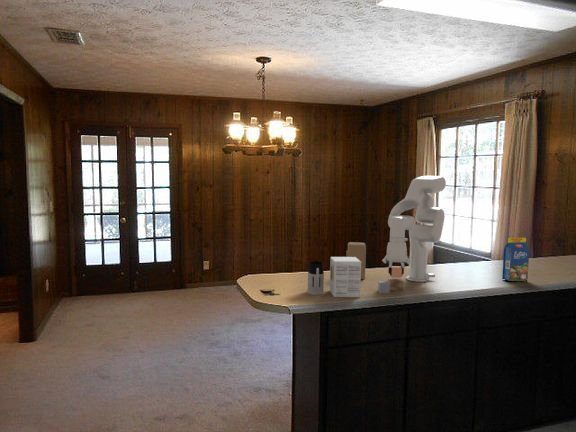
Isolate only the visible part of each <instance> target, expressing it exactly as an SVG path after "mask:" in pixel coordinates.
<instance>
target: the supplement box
mask: <svg viewBox="0 0 576 432" xmlns="http://www.w3.org/2000/svg"><path fill="white" fill-rule="evenodd" d="M329 258H330V261H329V262H330V266H329V274H330V275H329V292H330V293H331V295H332V296H333V297H334V298H361V286H362V285H361V281H362V279H361V261H360V260H359V259H357V258H356V257H347V256H330V257H329Z"/></svg>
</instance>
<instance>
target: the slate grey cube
mask: <svg viewBox="0 0 576 432" xmlns="http://www.w3.org/2000/svg"><path fill="white" fill-rule="evenodd" d="M377 282H378V285H377V287H378V288H377V291H378V293H379V294H390V293H391V292H390V291H391V290H390V283H389V282H388V280H387V281H382V280H378V281H377Z"/></svg>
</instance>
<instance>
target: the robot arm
mask: <svg viewBox="0 0 576 432" xmlns="http://www.w3.org/2000/svg"><path fill="white" fill-rule="evenodd" d="M446 185H447V182H446V179H445V177H444V176H442V175H421V176H417V177H416V178H414V179H412V180H411V182H410V184H409V187H408V189H407V192H406V194H405V197H404V198H403V199H402V200H400V201H399V202H397V203H396V204H395V205H394V206H393V208H391V211H390V214H389V215H388V220H387V224H388V227H389V228H390V230H389V242H387V246H386V255H385V256H384V258H383V259H382V260H381V261H382V262H383V264H385V266H387V268H388V274H389V276H390V275H392V268H391V266H393V263H400V264H401V265H400V267H401V268H402V277H403V275H404V274H405V267H407V266H409V267H408V268H409V270H408V275H407V276H406V277H405V279H406V280H408V281H410V282H417V283H418V282H419V283H425V282H429V281H430V278H436V274H435V273H431V272H430V273H429V272H427V266H428V263H427V262H428V247H427V246H426V244H425V243H431V244H432V243H433V244H435V243H439V242H440V240H441V238H442V234H443V228H444V223H445V217H446V216H445V210H443V208H441V207H434V203H435V199H434V197H433V196H432V194H436V193H437V194H438V193H440V192H443V191H444V190H445V188H446ZM414 208H416V212H415V217H413V216H411V215H403V214H402V213H404V212H405V211H409V210H412V209H414ZM401 214H402V215H401ZM417 223H418V224H417ZM406 231H408V236H409V239H408V238H406ZM408 240H409V245H410V246H409V256H408V249H407V248H408V247H407V244H406V242H408Z"/></svg>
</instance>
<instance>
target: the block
mask: <svg viewBox="0 0 576 432" xmlns="http://www.w3.org/2000/svg"><path fill="white" fill-rule="evenodd" d="M366 255H367V245H366V243H365V242H358V241H357V242H354V241H353V242H352V241H349V242H348V243H347V256H346V257H356V258H357V259H359V260H360V261H361V280H365V279H366V266H367V265H366V258H367V256H366Z"/></svg>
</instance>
